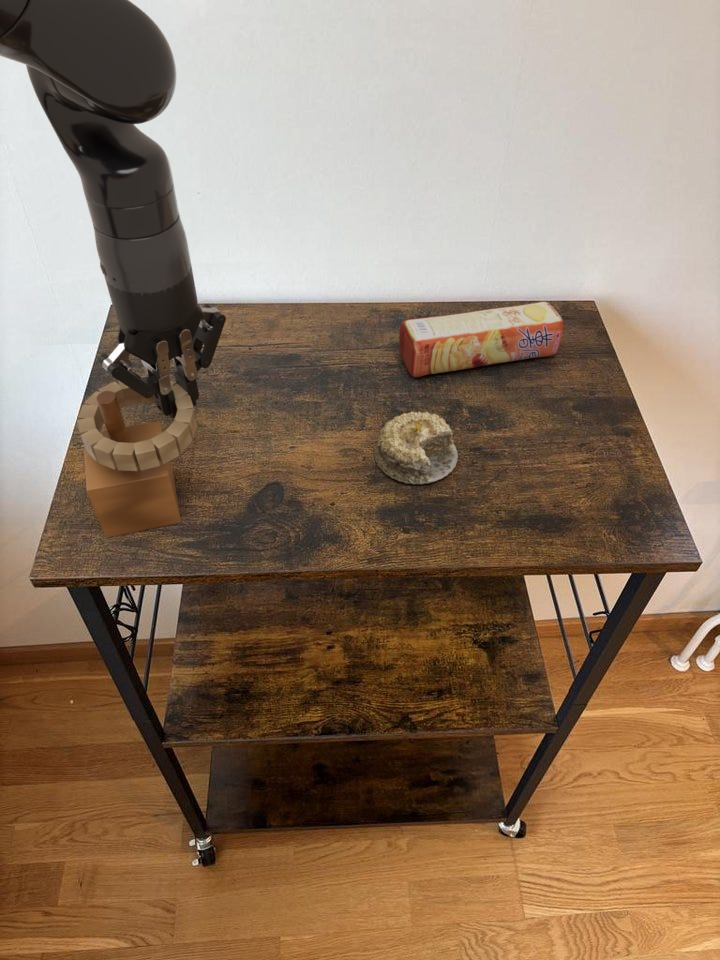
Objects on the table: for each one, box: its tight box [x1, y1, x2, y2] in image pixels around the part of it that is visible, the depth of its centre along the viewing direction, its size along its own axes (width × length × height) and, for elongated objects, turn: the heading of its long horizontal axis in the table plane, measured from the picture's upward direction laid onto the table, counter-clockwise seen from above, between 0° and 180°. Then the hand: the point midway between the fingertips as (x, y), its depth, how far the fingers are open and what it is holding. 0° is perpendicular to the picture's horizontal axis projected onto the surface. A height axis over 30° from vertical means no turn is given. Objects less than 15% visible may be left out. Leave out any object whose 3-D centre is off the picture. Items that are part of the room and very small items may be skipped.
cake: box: [373, 411, 459, 485], centre depth 85 cm, size 10×10×5 cm
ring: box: [76, 375, 198, 471], centre depth 74 cm, size 11×11×2 cm
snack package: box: [398, 301, 565, 378], centre depth 96 cm, size 21×7×7 cm, turn 105°
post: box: [83, 391, 182, 539], centre depth 75 cm, size 8×8×16 cm
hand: (179, 407), depth 77 cm, fingers closed on ring, 1 cm apart
